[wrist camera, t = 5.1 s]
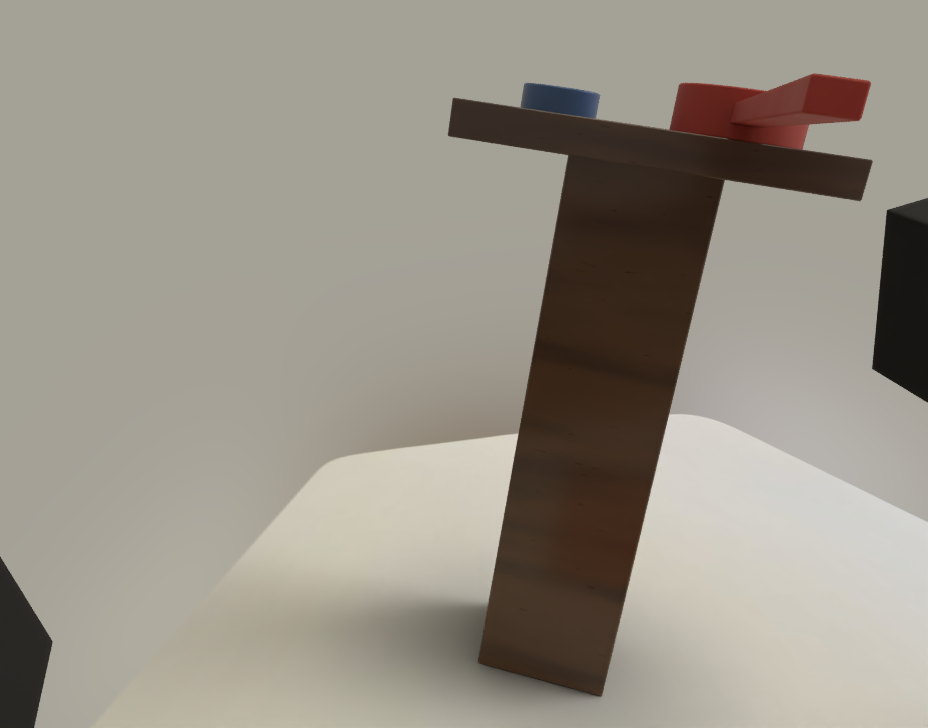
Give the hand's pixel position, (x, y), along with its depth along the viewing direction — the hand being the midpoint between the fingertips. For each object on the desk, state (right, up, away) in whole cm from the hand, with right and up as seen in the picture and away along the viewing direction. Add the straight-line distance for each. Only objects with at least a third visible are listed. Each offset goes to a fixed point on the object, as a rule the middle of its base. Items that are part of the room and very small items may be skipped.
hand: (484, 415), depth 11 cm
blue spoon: (+5, +13, +30) cm, 33 cm away
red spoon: (+10, +8, +16) cm, 20 cm away
